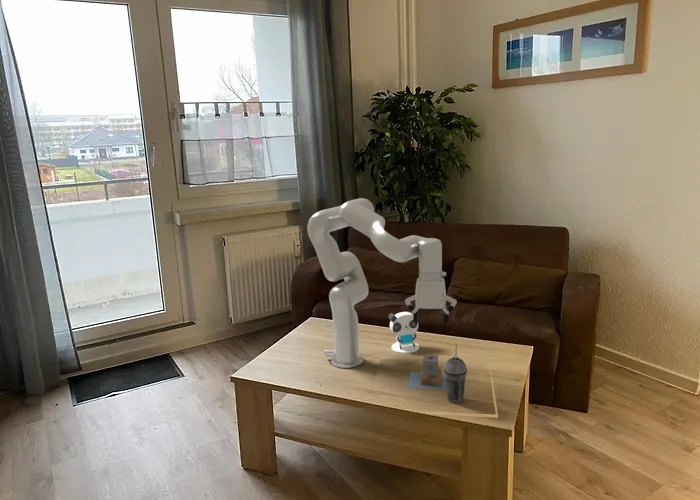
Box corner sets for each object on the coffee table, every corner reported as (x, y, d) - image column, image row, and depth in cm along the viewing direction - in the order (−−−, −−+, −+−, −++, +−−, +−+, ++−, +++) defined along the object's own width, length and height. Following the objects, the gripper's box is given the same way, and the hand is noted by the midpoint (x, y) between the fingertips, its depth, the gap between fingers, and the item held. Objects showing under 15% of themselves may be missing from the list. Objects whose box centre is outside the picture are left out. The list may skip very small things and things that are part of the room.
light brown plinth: (421, 384, 183) (420, 374, 182) (422, 375, 189) (422, 365, 188) (441, 385, 181) (441, 375, 180) (442, 376, 188) (441, 366, 187)
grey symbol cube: (438, 368, 185) (438, 355, 184) (437, 375, 180) (437, 361, 179) (423, 368, 186) (423, 354, 185) (423, 374, 181) (423, 361, 180)
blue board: (407, 390, 181) (407, 387, 181) (410, 374, 193) (410, 372, 193) (455, 392, 178) (455, 390, 178) (454, 376, 190) (454, 373, 190)
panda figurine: (395, 355, 210) (394, 319, 206) (386, 344, 221) (385, 310, 217) (423, 350, 212) (422, 315, 209) (413, 340, 223) (412, 306, 220)
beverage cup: (442, 406, 170) (441, 348, 165) (446, 395, 177) (446, 339, 172) (465, 409, 167) (465, 351, 163) (468, 398, 174) (468, 342, 169)
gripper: (456, 272, 179) (456, 320, 183) (405, 272, 182) (406, 319, 186) (456, 278, 172) (456, 328, 175) (403, 278, 175) (404, 326, 179)
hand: (430, 323), depth 181 cm, fingers open, 9 cm apart
